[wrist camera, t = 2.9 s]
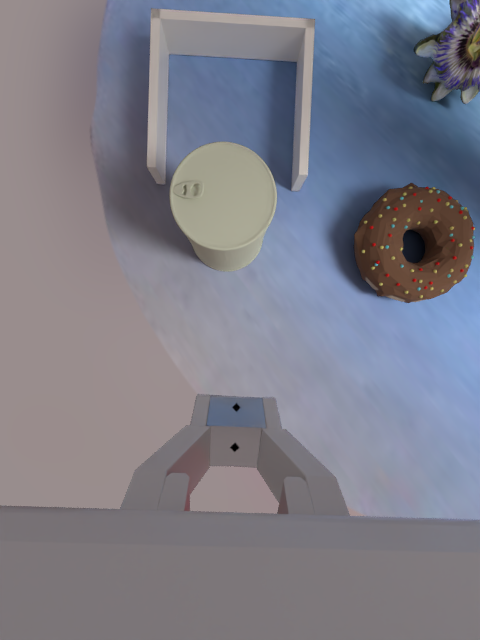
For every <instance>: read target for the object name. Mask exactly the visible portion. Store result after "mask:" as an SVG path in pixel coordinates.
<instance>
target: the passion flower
mask: <svg viewBox="0 0 480 640" xmlns="http://www.w3.org/2000/svg"><path fill="white" fill-rule="evenodd" d="M450 9H451V18H452V21H453V22H452V23H451V24H450V25H449V26H448V27H447V28H446V29H445V30H444V31H443V32H441V33H439V34H437V35H431V36H429V37H426V38H424V39H422V40H420V41H419V42H418V43H417V44H416V45H415V47H414V52H415V54H416V55H417V56H420V57H426V58H427V57H432V58H433V60H434V61H433V63H432V64H431V66H430V67H429V69H428V71H427V72H426V74H425V76H424V79H423V82H422V83H423V84H424V83H427V84H428V83H430V82H434V83H435V89H434V91H433V93H432V97H431V100H432V101H438V100H440V99H442V98H443V97H445V96H446V95H447V94H448V93H450V92H451V91H452V90H454V89H456V90H458V89H460V90H461V97H460V98H461V100H462V102H463V103H464V104H467V103H469V102H470V101H471V100H472V99H473V98H474V97H475V96H476V95H477V93H478V92H479V90H480V0H450Z"/></svg>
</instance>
